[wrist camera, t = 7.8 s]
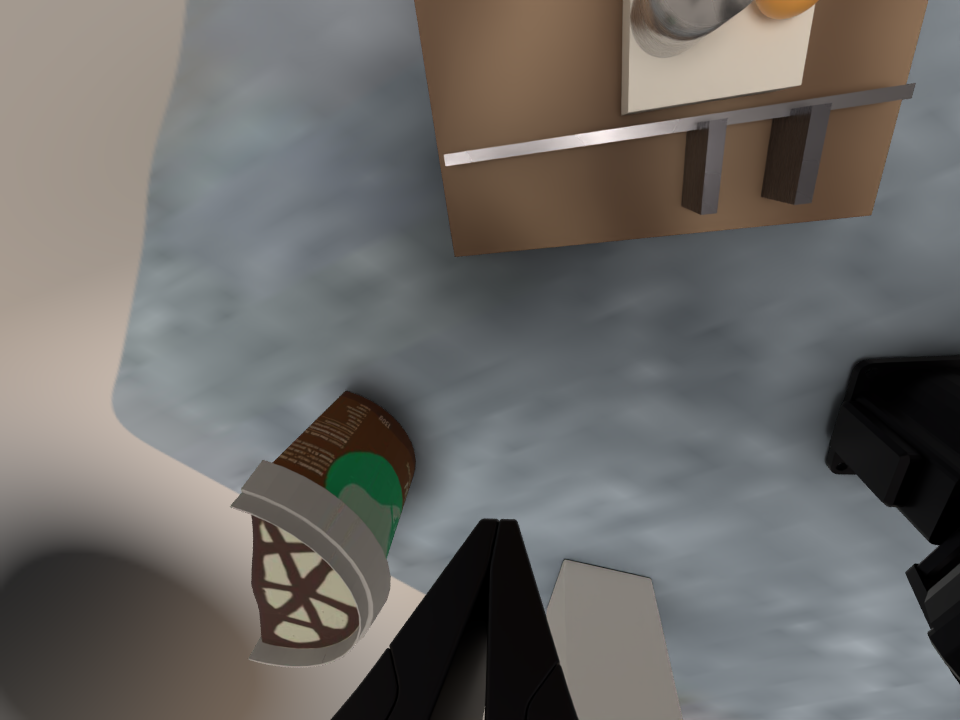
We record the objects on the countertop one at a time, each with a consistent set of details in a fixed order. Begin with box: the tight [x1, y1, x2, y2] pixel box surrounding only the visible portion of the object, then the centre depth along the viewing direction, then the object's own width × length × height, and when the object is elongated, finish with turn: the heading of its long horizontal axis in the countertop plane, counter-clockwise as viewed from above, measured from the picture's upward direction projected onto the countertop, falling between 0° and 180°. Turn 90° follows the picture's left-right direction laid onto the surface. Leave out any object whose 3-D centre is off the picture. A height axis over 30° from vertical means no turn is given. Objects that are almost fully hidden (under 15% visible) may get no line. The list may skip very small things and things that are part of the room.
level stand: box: [414, 0, 928, 257], centre depth 14 cm, size 16×14×4 cm
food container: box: [230, 391, 416, 668], centre depth 23 cm, size 12×6×10 cm, turn 168°
